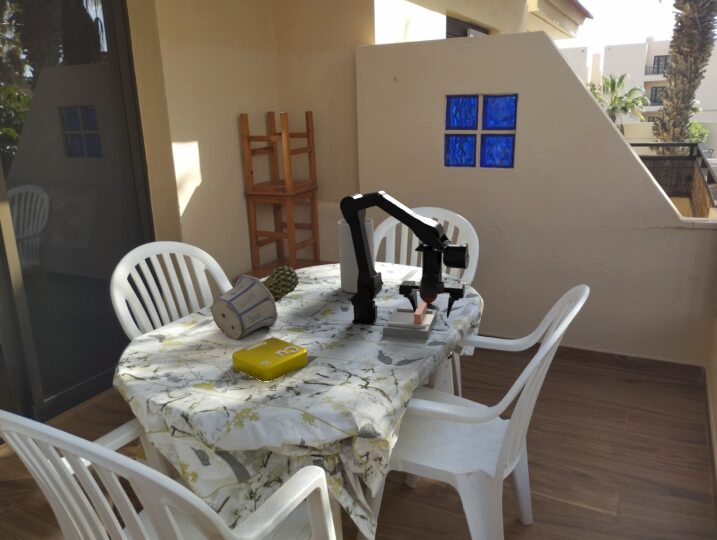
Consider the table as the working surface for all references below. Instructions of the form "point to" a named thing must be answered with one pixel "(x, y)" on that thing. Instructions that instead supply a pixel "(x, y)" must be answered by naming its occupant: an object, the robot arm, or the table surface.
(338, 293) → the table surface
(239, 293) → the potted plant
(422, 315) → the lever
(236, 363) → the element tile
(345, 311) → the table surface
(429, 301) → the pomegranate
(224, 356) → the table surface
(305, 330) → the table surface
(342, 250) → the cylinder vase
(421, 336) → the box
